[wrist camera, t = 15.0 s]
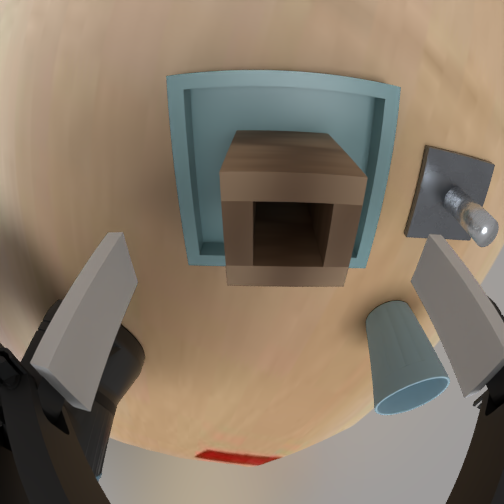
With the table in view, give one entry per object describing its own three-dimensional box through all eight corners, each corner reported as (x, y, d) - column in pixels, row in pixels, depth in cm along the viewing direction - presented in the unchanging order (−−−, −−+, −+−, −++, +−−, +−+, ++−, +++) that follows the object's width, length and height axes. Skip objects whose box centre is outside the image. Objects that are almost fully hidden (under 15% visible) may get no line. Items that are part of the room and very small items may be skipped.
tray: (194, 248, 24) (188, 265, 22) (177, 74, 15) (166, 75, 14) (358, 251, 23) (365, 268, 21) (386, 84, 15) (400, 87, 13)
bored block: (238, 210, 21) (227, 285, 14) (236, 130, 17) (219, 172, 11) (319, 212, 21) (343, 286, 14) (328, 133, 17) (367, 177, 11)
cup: (378, 286, 26) (410, 378, 17) (430, 297, 27) (464, 375, 18) (344, 333, 30) (360, 417, 22) (394, 339, 31) (415, 411, 23)
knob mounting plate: (403, 233, 22) (431, 277, 17) (425, 145, 17) (468, 174, 13) (466, 237, 22) (496, 275, 17) (490, 162, 17) (531, 192, 12)
